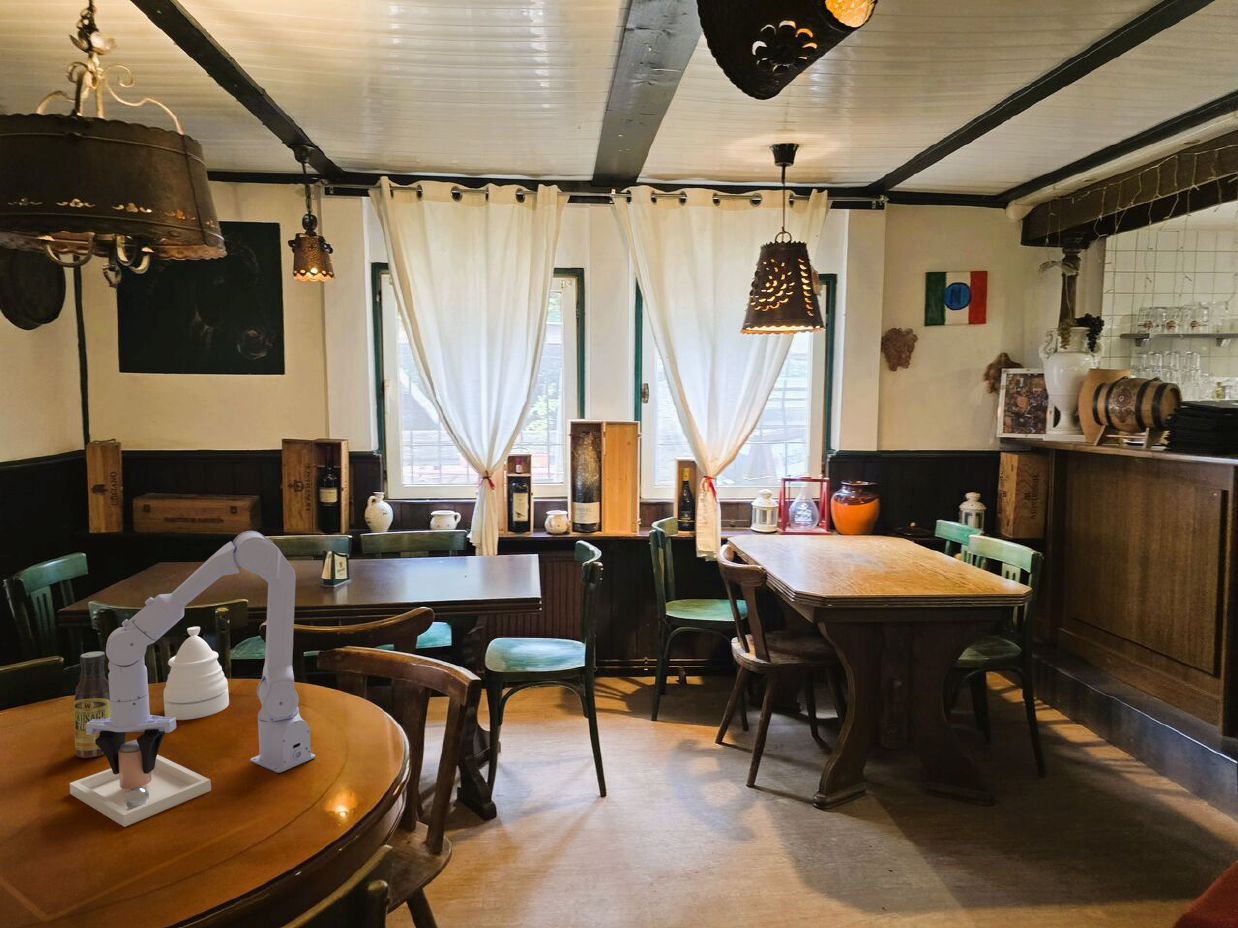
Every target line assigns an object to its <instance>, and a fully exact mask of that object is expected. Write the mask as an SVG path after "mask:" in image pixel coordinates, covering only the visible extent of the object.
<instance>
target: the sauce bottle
mask: <svg viewBox="0 0 1238 928" xmlns="http://www.w3.org/2000/svg"><path fill="white" fill-rule="evenodd" d="M105 660H106V652H104V651H89V652H86V653H82V654H81V655H80V656H79V663H80V666H81V669H80V671H81V673H80V679H79V682H78V684H77V685H76V687H75V690H74V701H73V707H74V708H73V709H74V711H73V713H74V715H73V717H74V748H75V754H76V757H78V758H82V759H90V758H91V759H92V758H95V757H101V756H105V754H104V753H103V751H102V750H101V749H100V748H99V747H98V746H97V745H96V743H95V740H96V739H97V738H98V737H99V735H100V733H94V734H86V723H88V722H90V721H91V720H93V719H105V718H111V708H110V693H109V680H108V679H107V677H106V676H105V674H106V672H105Z"/></svg>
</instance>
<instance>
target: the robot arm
mask: <svg viewBox="0 0 1238 928" xmlns="http://www.w3.org/2000/svg"><path fill="white" fill-rule="evenodd" d="M239 567H241V568H242V569H243V570H244V571H248V572H250V573H253V574H255V575H259V576H260V578H261V579H262V580H264V581H265V582H267V585H268V586H267V602H266V603H267V604H266V605H267V606H266V607H267V608H266V629H265V632H266V633H265V655H264V665H263V669H262V676H261V680H260V681H259V683H258V684H257V688H256V696H257V699H258V700H259V701H260V704H261V708H260V710H259V712H258V713H257V725H258V728H257V729H258V730H257V732H258V744H259V745H258V747H259V748H258V749H259V754H258V755H256V756H253V757H251V758H250V759H249V762H250V763H253V764H255V765H258V766H260V767H262V768H265V769H267V770H269V771H272V772H274V773H275V774H279V773H282V772H285V771H288V770H290V769H292V768H294V767H297V766H299V765H301V764H303V763H306V762H308V761H310V760H312V759H316V754H314V753H313V752H312V747H311V745H312V744H311V742H312V741H311V728H310V725H309V724H308V722H307V721H306V720H304V719H303V718H302V716H301V715H300V709H299V706H298V705H299V702H300V700H299V695H298V693H297V691H296V689H295V676H294V671H293V669H294V668H293V654H294V653H293V649H294V629H295V628H294V626H295V624H294V623H295V606H296V605H295V603H296V601H295V600H296V580H297V579H296V577H297V576H296V571H295V569H294V568H293V567H292V565H291V564H290V562H289V561H288V560H287V558H286V557H285V556H284V554H283V553H282V552H281V549H280V548H279V547H278V546H276V544H275V543H274V542H273V541H272V540H271V539H270V538H268V537H266V536H265V535H263V534H262V533H260V532H258V531H256V530H255V531H254V530H248V531H247V530H246V531H243V532H241V533H239V534H238V535H237V536H236V537H235V538H234V539H233V540H232V541H229V542H227V543H226V544H224V545H223V546H222V547H221V548H219V549H218V550H217V551H216V552H215V553H214V554H212V555H211V556H210V557H209V558H208V559H207V560H206V561H204V563H203V564H201V565H200V567H198V568H197V569H196V570H195V571H194V572H193V573H192V574H191V575H190V576H189V577H188V578H187V579H186V580H184V581H183V582H182V583H181V584H180V585H179V586H178V587H177V588H175V590H173V591H172V592H171V593H161V594H158V595H156V596H155V597H152V596H150V597H149V598H147V599H146V600H145V601H144V603H145V606H143V608H141V609H140V610H139V611H137V613H136V614H135V615H133V616H132V617H131V618H130V619H127V618H126V619H124V620H123V621H122V623H121V625H122V627H118V628H116V629H114V630H113V631H112V632H111V633H110V635H108V638H107V641H106V645H105V646H106V647H105V656H106V657H107V659H108V664H107V667H108V670H109V672H108V674H107V676H108V682H109V693H110V708H111V718H105V719H93V720H91V721H90V722H88V723H86V734H94V733H100V735H99V737H98V738H97V739H96V740H95V743H96V745H97V746H98V747H99V748H100V749H101V750H102V751H103V753H104V756H105V757H106V759H107V761H108V763H109V766H110V768H111V769H112V771H113V774H118V773H119V759H118V750H119V749H121V745H122V744H124V743H126V742H125V741H126V734H127V733H133V732H134V733H135V732H136V733H138V732H143V733H142V734H141V735H140V736H138V737H137V738H136V740H137V742H138V745H139V747H140V751H141V755H142V765H143V772H144V774H148V773H149V772H151V771H152V770H153V769H154V767H155V761H156V757H157V755H158V752H159V750H160V746H161V743H162V741H163V739H164V737H165V735H166V733H171V732H173V731H174V730H176V729H177V722H176V721H177V720H176V718H171V717H166V716H161V715H153V714H151V713H150V701H149V700H150V695H149V682H148V669H147V666H146V665H145V662H146V661H145V655H146V652H147V649H148V647H147V646H149V645H152V644H154V643H156V641H158V640H159V639H161V637H162V636H164V635H165V634H166V633H167V632H168V631H169V630H170V629H172V628H173V627H174V626H175V625H176V624H177V623H178V622H179V621H180V620H181V619H183V618H184V616H185V607H186V606H187V605H188V604H189V603H191V602H192V601H193V600H194V599H195V598H197V597H198V596H199V595H201V593H202V592H204V591H205V590H207V588H209V587H210V586H211V585H213V584H214V583H215V582H216V581H217V580H218V579H220V578H221V577H224V576H229V575H236V574H240V573H241V572H240V570H239Z"/></svg>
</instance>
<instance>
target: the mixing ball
mask: <svg viewBox="0 0 1238 928" xmlns="http://www.w3.org/2000/svg"><path fill="white" fill-rule="evenodd" d="M148 800H149V792H148V790H147V789H145V788H144V787H135V788H133V789H131V790H130V791H129V792H128V793H127V794H126V796H125V804H126V806H127V807H128V808H130V809H133V808H136V807H138V806H141V805H143V804H146V803H147V802H148Z"/></svg>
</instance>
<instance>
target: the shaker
mask: <svg viewBox="0 0 1238 928" xmlns="http://www.w3.org/2000/svg"><path fill="white" fill-rule="evenodd" d="M118 759H119V784H120V788H122V789H133V788H135V787H141V786H144V785H146V784H148V783H149V782H151V780H152V778H151V772H149V773H148V774H144V772H143V765H142V755H141V751H140V747H139V745H138V742H137V739H133V740H129V741H126V742H125V743H124V744H122V745H121V749H119V750H118Z"/></svg>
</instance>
